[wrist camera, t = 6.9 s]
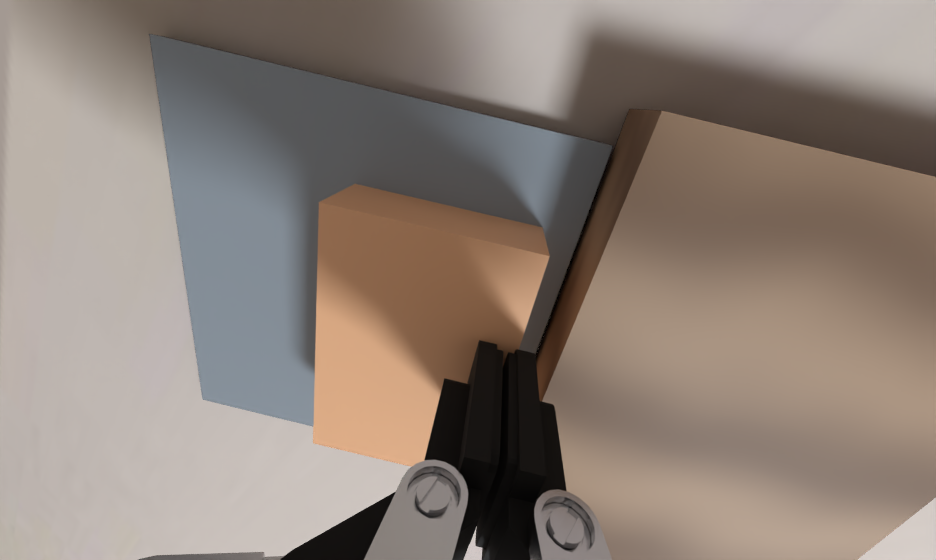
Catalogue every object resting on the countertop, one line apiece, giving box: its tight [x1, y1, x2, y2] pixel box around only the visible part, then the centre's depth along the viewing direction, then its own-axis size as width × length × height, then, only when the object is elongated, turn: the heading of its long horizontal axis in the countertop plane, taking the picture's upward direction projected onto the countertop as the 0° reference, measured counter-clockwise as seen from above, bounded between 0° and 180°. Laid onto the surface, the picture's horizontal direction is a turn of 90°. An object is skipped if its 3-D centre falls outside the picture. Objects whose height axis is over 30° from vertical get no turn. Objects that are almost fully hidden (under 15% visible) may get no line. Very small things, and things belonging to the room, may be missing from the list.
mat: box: [149, 34, 613, 426], centre depth 14 cm, size 14×13×1 cm
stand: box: [536, 109, 936, 560], centre depth 13 cm, size 16×13×2 cm
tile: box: [313, 184, 550, 467], centre depth 12 cm, size 9×6×2 cm, turn 168°
